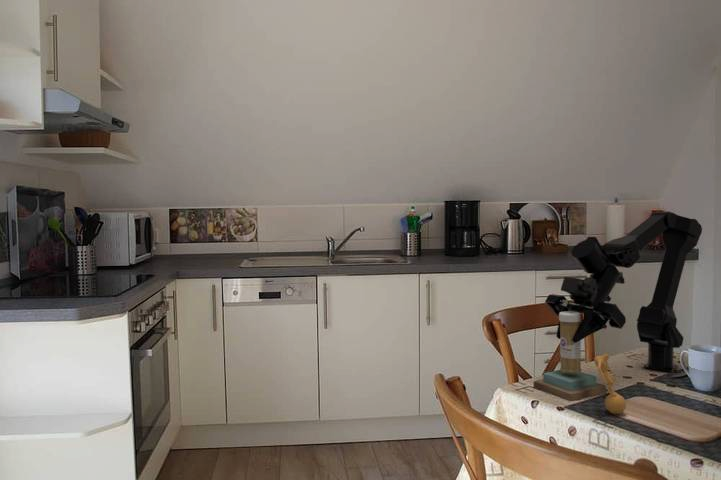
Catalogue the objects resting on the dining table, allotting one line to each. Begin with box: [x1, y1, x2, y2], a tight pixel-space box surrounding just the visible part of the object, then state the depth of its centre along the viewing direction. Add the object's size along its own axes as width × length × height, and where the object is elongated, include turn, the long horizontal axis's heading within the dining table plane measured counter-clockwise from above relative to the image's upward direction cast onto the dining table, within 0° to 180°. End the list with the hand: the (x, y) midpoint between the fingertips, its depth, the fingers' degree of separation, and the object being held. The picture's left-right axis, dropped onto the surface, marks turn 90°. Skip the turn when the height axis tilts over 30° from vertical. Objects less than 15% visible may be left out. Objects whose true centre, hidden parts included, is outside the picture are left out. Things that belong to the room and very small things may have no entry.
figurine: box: [593, 353, 627, 415], centre depth 119 cm, size 8×6×12 cm
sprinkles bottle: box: [558, 311, 582, 373], centre depth 133 cm, size 5×5×14 cm
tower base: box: [533, 369, 607, 402], centre depth 134 cm, size 11×11×4 cm
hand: (565, 339), depth 133 cm, fingers closed on sprinkles bottle, 4 cm apart
